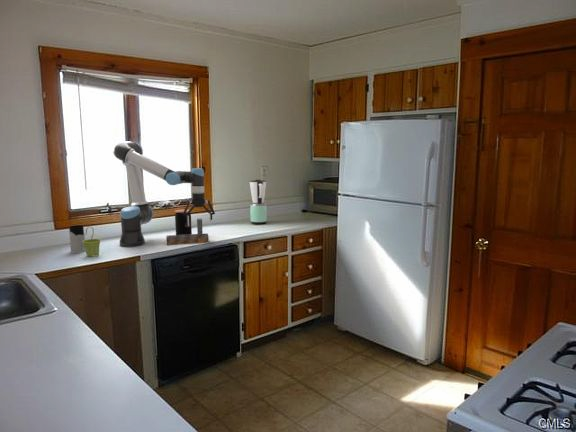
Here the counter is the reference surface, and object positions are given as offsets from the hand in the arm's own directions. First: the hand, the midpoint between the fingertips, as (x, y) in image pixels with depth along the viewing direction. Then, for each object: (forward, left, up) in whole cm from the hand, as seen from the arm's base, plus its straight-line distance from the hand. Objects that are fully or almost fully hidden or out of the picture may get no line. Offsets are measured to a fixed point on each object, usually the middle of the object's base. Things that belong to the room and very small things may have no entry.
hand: (199, 225), depth 282 cm
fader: (0, 0, -7) cm, 7 cm away
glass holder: (-69, -7, -11) cm, 70 cm away
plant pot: (-61, -22, -11) cm, 65 cm away
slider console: (-8, 0, -10) cm, 13 cm away
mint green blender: (+49, +56, -11) cm, 76 cm away
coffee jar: (-10, +20, -11) cm, 25 cm away
